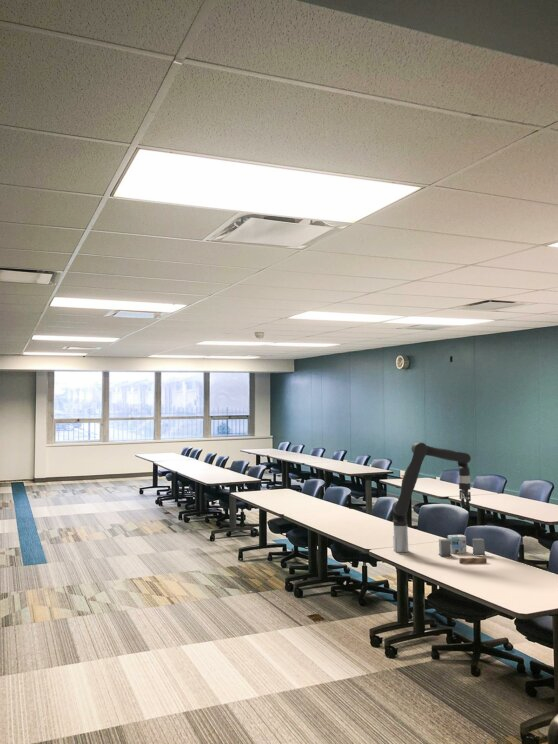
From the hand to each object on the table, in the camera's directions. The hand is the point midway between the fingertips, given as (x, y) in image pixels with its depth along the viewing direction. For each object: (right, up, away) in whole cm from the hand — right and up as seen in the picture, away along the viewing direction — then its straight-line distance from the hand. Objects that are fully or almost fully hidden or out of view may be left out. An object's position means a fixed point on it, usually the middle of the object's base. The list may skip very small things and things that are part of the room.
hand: (465, 506), depth 411 cm
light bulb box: (-8, -29, -9) cm, 31 cm away
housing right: (+3, -27, -19) cm, 33 cm away
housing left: (-19, -28, -19) cm, 39 cm away
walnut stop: (-8, -26, -40) cm, 49 cm away
